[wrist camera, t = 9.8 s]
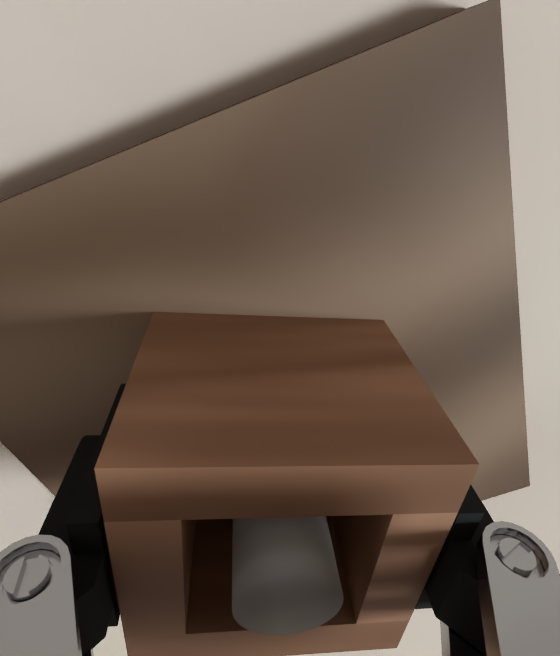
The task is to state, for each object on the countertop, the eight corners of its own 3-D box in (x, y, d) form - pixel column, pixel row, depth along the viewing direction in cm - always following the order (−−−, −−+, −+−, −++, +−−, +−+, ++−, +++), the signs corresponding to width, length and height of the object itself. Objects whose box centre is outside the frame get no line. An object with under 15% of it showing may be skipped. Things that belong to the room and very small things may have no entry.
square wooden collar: (153, 312, 10) (94, 468, 6) (383, 320, 11) (479, 464, 7) (169, 554, 15) (142, 739, 11) (329, 548, 16) (364, 718, 12)
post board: (-127, 254, 10) (-608, 466, 4) (468, 8, 9) (915, -160, 3) (162, 569, 18) (126, 804, 12) (510, 460, 16) (664, 665, 10)
